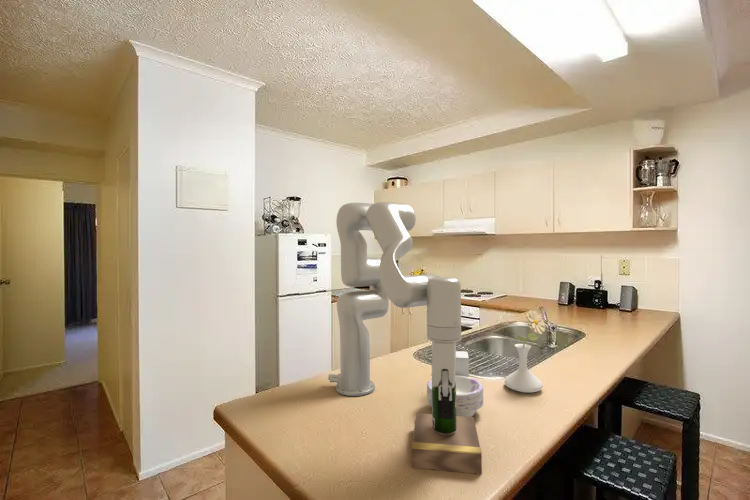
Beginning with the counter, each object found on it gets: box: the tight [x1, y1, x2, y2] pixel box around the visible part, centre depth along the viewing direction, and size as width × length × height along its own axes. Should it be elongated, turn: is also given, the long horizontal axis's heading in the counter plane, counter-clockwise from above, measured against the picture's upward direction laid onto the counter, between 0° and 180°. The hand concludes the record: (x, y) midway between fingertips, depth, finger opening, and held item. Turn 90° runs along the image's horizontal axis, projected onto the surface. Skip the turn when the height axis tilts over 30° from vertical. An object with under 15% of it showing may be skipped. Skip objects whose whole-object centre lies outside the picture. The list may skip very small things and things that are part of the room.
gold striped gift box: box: [411, 412, 483, 475], centre depth 81 cm, size 14×16×4 cm
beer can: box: [431, 381, 457, 436], centre depth 81 cm, size 5×5×12 cm
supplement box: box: [455, 350, 470, 378], centre depth 111 cm, size 7×7×13 cm
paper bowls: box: [426, 375, 485, 417], centre depth 99 cm, size 15×15×8 cm
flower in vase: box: [504, 309, 546, 393], centre depth 115 cm, size 13×11×25 cm
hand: (444, 408), depth 81 cm, fingers open, 9 cm apart
